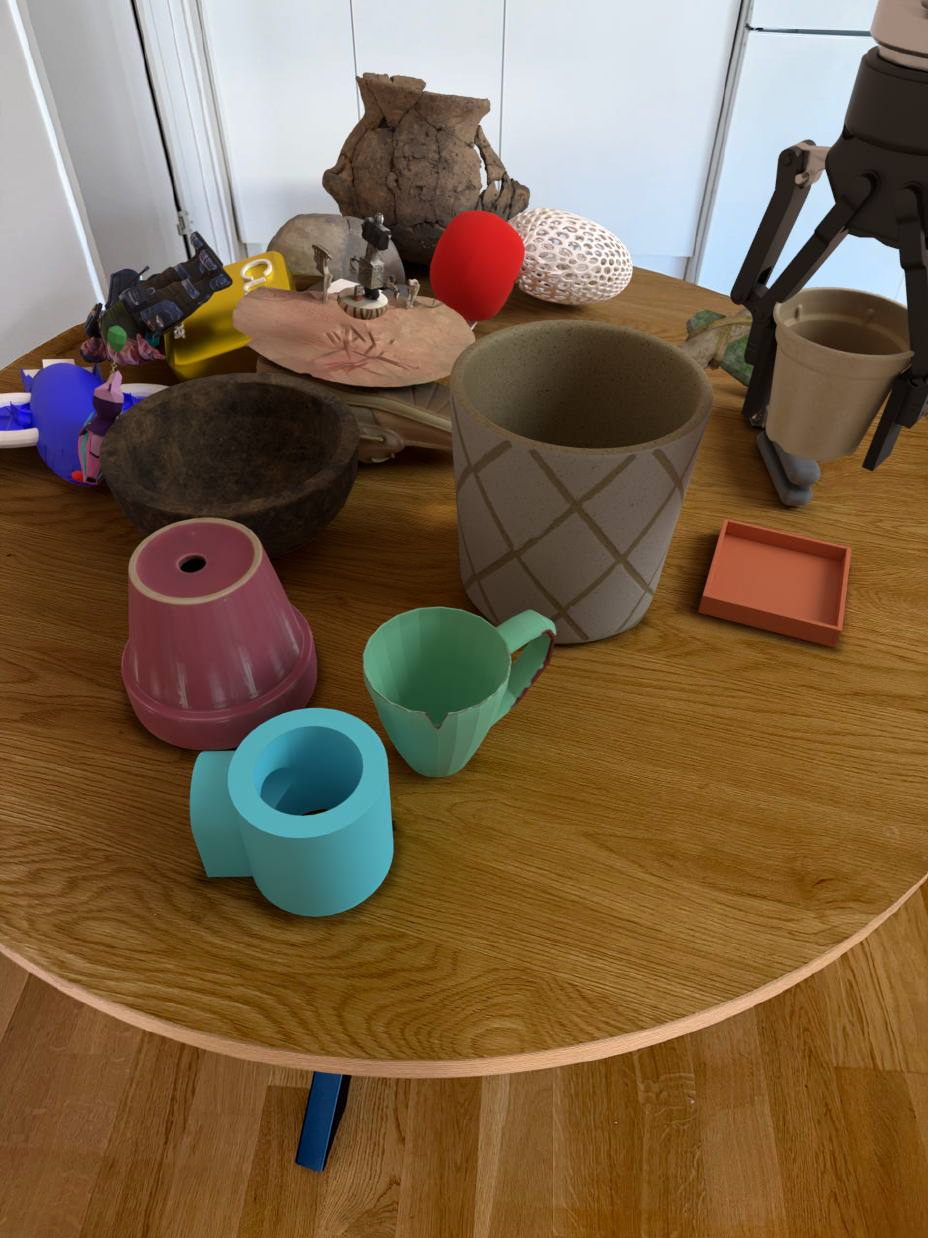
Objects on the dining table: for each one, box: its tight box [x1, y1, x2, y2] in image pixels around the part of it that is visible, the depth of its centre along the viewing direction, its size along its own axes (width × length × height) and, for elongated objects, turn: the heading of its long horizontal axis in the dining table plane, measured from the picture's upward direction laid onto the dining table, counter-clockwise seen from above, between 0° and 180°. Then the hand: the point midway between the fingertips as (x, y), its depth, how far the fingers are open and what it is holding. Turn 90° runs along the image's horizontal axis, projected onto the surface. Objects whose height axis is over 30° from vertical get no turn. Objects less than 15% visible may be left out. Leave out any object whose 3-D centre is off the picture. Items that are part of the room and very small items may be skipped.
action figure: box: [78, 230, 233, 366], centre depth 98 cm, size 20×7×18 cm
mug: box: [361, 606, 556, 779], centre depth 64 cm, size 15×10×10 cm
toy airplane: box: [0, 358, 170, 487], centre depth 93 cm, size 24×25×5 cm
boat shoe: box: [256, 355, 453, 464], centre depth 92 cm, size 9×25×8 cm, turn 79°
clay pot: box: [321, 71, 531, 266], centre depth 120 cm, size 25×24×22 cm
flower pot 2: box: [765, 286, 915, 462], centre depth 59 cm, size 9×9×9 cm
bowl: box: [99, 373, 360, 560], centre depth 81 cm, size 22×22×10 cm
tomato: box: [429, 210, 528, 322], centre depth 106 cm, size 12×12×10 cm
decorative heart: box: [508, 207, 634, 306], centre depth 115 cm, size 18×11×17 cm
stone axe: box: [676, 307, 754, 388], centre depth 104 cm, size 26×5×30 cm
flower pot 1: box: [120, 518, 318, 751], centre depth 67 cm, size 14×14×13 cm
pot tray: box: [697, 517, 852, 648], centre depth 79 cm, size 11×11×2 cm
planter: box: [449, 319, 714, 645], centre depth 73 cm, size 19×19×20 cm
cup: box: [189, 707, 394, 918], centre depth 57 cm, size 12×10×9 cm
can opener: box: [749, 405, 822, 507], centre depth 93 cm, size 19×6×5 cm, turn 176°
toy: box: [78, 326, 128, 486], centre depth 82 cm, size 16×4×15 cm, turn 10°
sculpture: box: [233, 213, 476, 387], centre depth 89 cm, size 25×24×16 cm
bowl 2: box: [265, 212, 406, 288], centre depth 113 cm, size 18×18×8 cm
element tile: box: [163, 251, 297, 384], centre depth 103 cm, size 15×15×5 cm
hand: (813, 433), depth 62 cm, fingers closed on flower pot 2, 8 cm apart
